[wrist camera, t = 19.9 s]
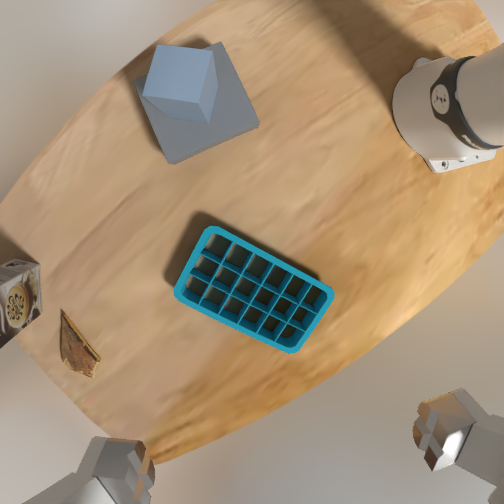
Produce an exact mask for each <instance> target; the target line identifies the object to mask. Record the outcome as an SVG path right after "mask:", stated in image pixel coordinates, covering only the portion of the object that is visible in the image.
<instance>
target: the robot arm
mask: <svg viewBox="0 0 504 504" xmlns="http://www.w3.org/2000/svg"><path fill="white" fill-rule="evenodd" d="M392 106H393V114H394V119H395V122H396V125H397V127H398V130H399V132H400V133H401V135H402V137H403V138H404V140H405V141H406V142H407V144H408V145H409V146H410V147H411V148H412V149H413V150H415V151H416V152H417V153H418V154H420V155H421V156H422V157H423V158H424V159H425V161H426V163H427V164H428V166H429V168H430V169H431V170H432V172H434V173H442V172H446V171H449V170H453V169H457V168H460V167H464V166H468V165H471V164H475V163H479V162H483V161H486V160H490V159H493V158H494V157H495V154H496V150H497V149H500V148H503V147H504V43H503V44H501V45H500V46H498V47H496V48H494V49H492V50H490V51H488V52H486V53H484V54H482V55H480V56H477V57H476V56H469V57H464V58H460V59H457V60H455V59H452V58H451V57H449V56H446V57H442V58H439V59H436V60H433V61H432V60H430V59H427V58H424V57H422V58H419V59H417V60H416V61H415V63H414V66H413V68H412V70H411V71H410V72H409V73H407V74H406V75H404V76H403V77H402V78H401V79H400V80H399V82H398V83H397V85H396V87H395V90H394V94H393V101H392ZM442 162H443V166H442ZM417 412H418V414H419V415H420V416H419V417H418V418H417V420H416V421H415V422H414V426H413V438H414V441H415V444H416V445H417V447H418V449H421V450H423V451H425V456H424V459H425V461H426V462H427V464H428V466H429V467H430V469H431V471H432V472H434V471H436V470H439V469H442V468H444V467H446V466H449V465H451V464H454V463H455V465H457V466H459V467H461V468H463V469H465V470H467V471H468V472H470V473H472V474H474V475H476V476H478V477H480V478H481V479H483V480H485V481H487V482H489V483H491V484H493V485H495V486H497V487H496V488H495V489H494V491H493V492H492V494H491V495H490V496H489V499H488V502H489V504H504V418H503V417H500V416H496V415H490V416H489V415H488V414H487V413H486V412H485V411H484V410H483V408H482V407H481V406H480V405H479V404H478V403H477V402H476V401H475V400H474V398H472V396H471V395H470V394H469V393H468V392H467V391H466V390H465V389H463V388H459V389H456V390H454V391H451V392H449V393H446V394H443V395H440V396H438V397H435V398H432V399H430V400H427V401H424V402H422V403H421V404H420V405H419V407H418V411H417ZM145 451H146V447H145V445H144V443H143V442H142V441H139V440H127V439H117V438H105V437H98V436H96V437H94V438H92V440H91V442H90V444H89V446H88V448H87V450H86V452H85V454H84V457H83V459H82V461H81V463H80V466H79V468H78V470H77V472H76V473H71V474H69V475H67V476H66V477H64V478H63V479H61V480H60V481H58V482H57V483H55V484H53V485H52V486H50V487H49V488H47V489H46V490H44V491H42V492H41V493H39V494H37V495H36V496H34V497H32V498H31V499H29V500H28V501H26V502H24V503H23V504H150V500H151V495H150V493H149V492H148V490H149V489H150V488H151V487H152V486H153V485H154V481H155V468H154V464H153V461H152V459H151V458H150V457H149V456H147V455H146V454H145Z"/></svg>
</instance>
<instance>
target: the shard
mask: <svg viewBox="0 0 504 504" xmlns="http://www.w3.org/2000/svg"><path fill="white" fill-rule="evenodd" d="M62 327H63V328H62V344H61V348H62V351H61V352H62V357H63V364H64V365H65V366H67V367H68V368H70V369H71V370H74V371H76V372H79V373H81V374H84V375H86V376H88V377H91V378H94V372H95V367H96V365H97V363H98V362H100V361H101V358H100V357H99V356H98V355H97V354H96V353H95V352H94V351H93V350H92V348H91V347H90V346H89V345H88V343H87V342H86V340H85V339H84V337H83V336H82V334H81V333H80V331H79V330H78V329H77V327H76V326H75V324H74V323H73V322H72V321H71V320H70V318H69V317H68V316H67V315H66V314H65V315H64V314H62Z"/></svg>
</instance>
